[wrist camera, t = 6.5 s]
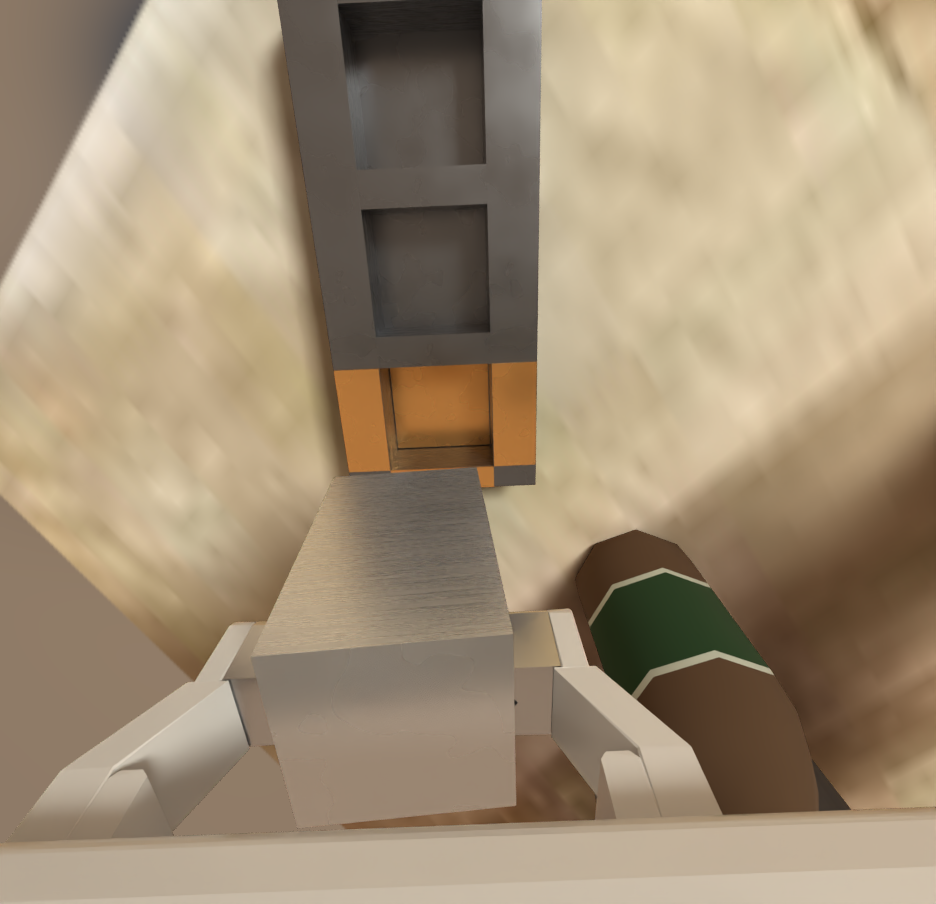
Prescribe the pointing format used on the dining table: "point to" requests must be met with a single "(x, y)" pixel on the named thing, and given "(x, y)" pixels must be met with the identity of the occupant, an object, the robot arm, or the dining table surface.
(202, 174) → the dining table surface
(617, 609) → the beer bottle
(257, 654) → the block
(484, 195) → the grey tray
